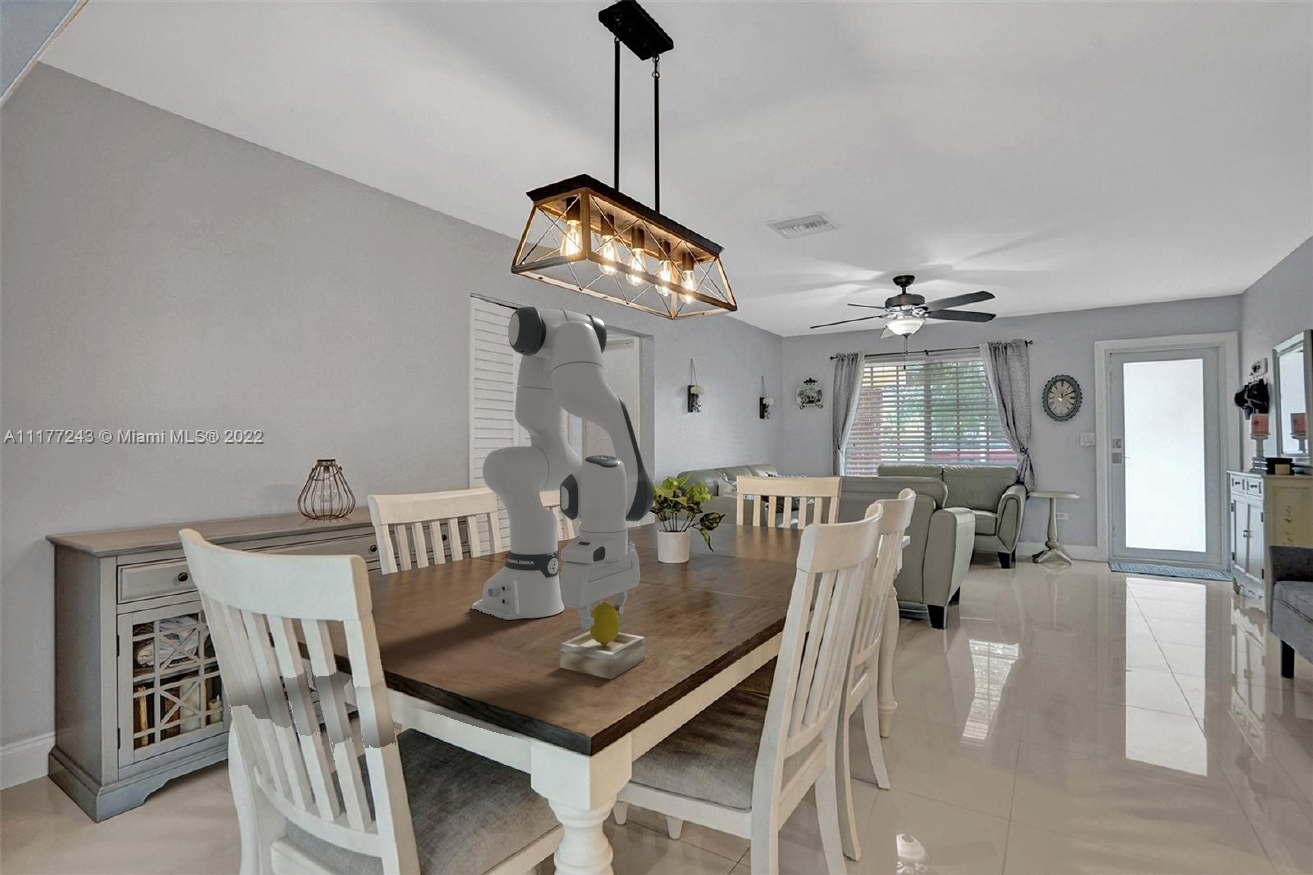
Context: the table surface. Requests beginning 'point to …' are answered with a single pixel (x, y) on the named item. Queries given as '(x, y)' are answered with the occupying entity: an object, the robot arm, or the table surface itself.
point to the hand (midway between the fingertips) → (603, 621)
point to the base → (602, 654)
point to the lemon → (605, 624)
